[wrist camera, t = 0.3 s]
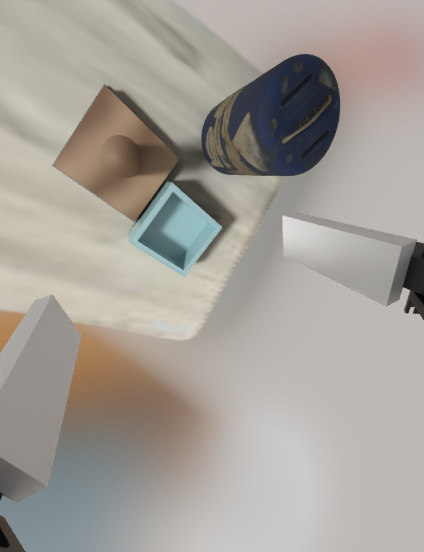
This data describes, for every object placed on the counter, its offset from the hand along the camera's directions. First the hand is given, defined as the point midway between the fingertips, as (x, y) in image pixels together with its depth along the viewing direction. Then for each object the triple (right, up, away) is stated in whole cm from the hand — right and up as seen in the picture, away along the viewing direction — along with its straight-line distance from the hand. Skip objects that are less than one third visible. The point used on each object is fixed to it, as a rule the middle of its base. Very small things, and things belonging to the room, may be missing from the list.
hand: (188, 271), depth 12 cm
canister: (+4, +21, +22) cm, 30 cm away
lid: (-11, +15, +17) cm, 25 cm away
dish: (-5, +8, +24) cm, 26 cm away
